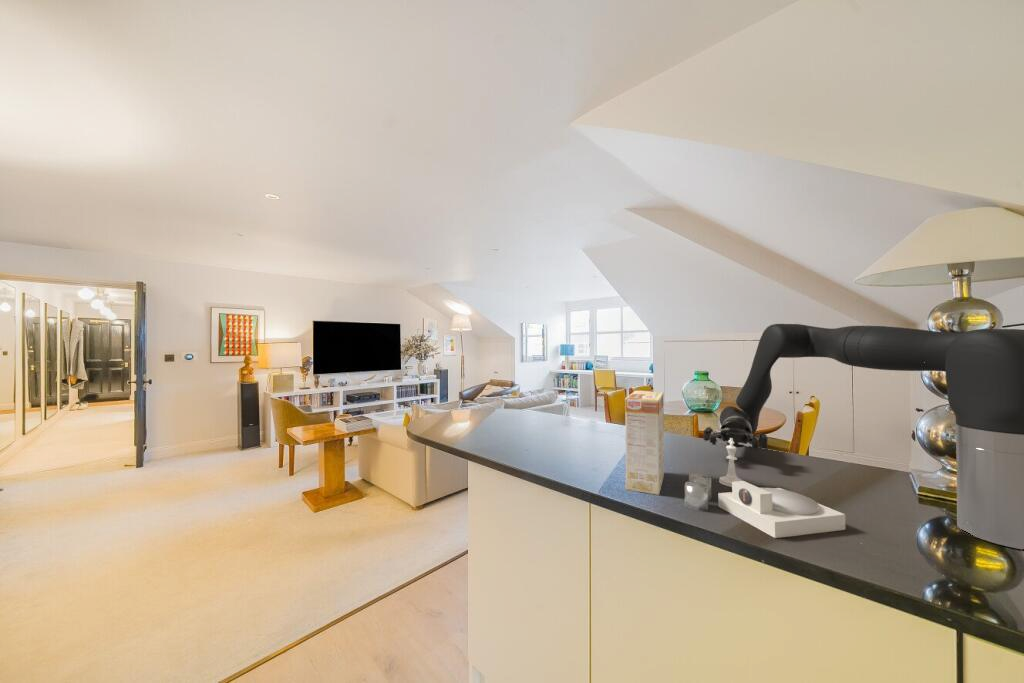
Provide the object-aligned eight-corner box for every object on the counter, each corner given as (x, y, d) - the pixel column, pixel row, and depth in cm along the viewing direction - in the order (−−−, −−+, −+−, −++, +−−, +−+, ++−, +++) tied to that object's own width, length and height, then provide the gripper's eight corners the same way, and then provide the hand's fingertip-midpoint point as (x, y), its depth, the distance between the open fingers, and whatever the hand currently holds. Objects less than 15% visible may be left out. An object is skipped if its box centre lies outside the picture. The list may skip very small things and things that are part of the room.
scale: (779, 500, 74) (779, 471, 74) (845, 529, 62) (845, 495, 62) (718, 506, 71) (718, 476, 71) (774, 538, 59) (774, 501, 59)
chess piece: (737, 479, 86) (737, 435, 86) (749, 488, 81) (748, 441, 81) (715, 479, 86) (714, 435, 86) (725, 487, 81) (724, 440, 81)
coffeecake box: (634, 469, 93) (634, 390, 93) (665, 473, 90) (665, 391, 90) (623, 489, 79) (623, 397, 80) (659, 495, 76) (659, 399, 77)
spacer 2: (698, 501, 74) (698, 480, 74) (713, 510, 70) (713, 488, 70) (680, 503, 73) (680, 482, 73) (694, 511, 69) (694, 490, 69)
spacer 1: (701, 492, 78) (701, 472, 78) (715, 499, 74) (715, 479, 75) (684, 493, 78) (684, 474, 78) (698, 501, 74) (698, 480, 74)
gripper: (708, 414, 110) (701, 424, 97) (766, 420, 103) (768, 431, 89) (708, 440, 110) (701, 453, 97) (766, 447, 103) (768, 463, 89)
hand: (733, 443), depth 93 cm, fingers open, 8 cm apart
